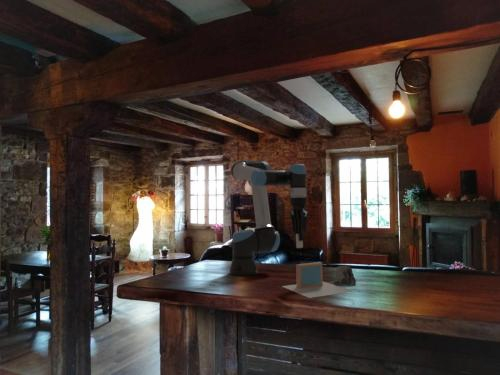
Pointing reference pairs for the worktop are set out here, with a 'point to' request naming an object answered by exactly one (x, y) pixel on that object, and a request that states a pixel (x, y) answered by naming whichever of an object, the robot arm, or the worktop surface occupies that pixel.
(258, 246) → the robot arm
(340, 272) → the stone
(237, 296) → the worktop surface
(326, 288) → the board
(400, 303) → the worktop surface
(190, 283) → the worktop surface
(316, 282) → the picture frame
